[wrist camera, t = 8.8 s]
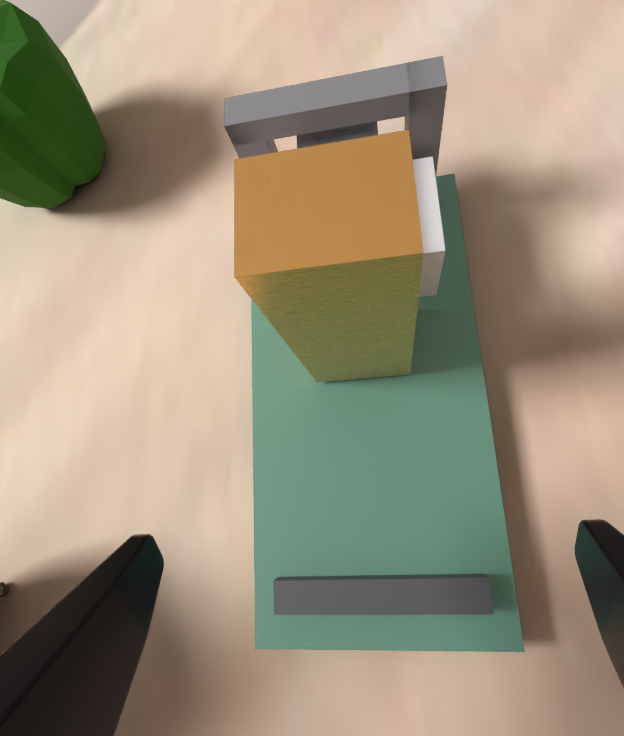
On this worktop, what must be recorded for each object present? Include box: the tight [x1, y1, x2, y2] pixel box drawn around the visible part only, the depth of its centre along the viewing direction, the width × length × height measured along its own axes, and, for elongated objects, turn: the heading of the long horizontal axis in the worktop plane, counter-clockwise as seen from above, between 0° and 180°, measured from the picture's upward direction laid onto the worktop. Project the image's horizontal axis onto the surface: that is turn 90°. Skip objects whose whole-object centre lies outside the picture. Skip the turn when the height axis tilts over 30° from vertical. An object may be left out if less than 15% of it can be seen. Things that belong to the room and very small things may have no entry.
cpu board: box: [224, 56, 525, 652], centre depth 17 cm, size 20×10×8 cm, turn 3°
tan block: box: [234, 121, 424, 382], centre depth 16 cm, size 10×4×10 cm, turn 3°
